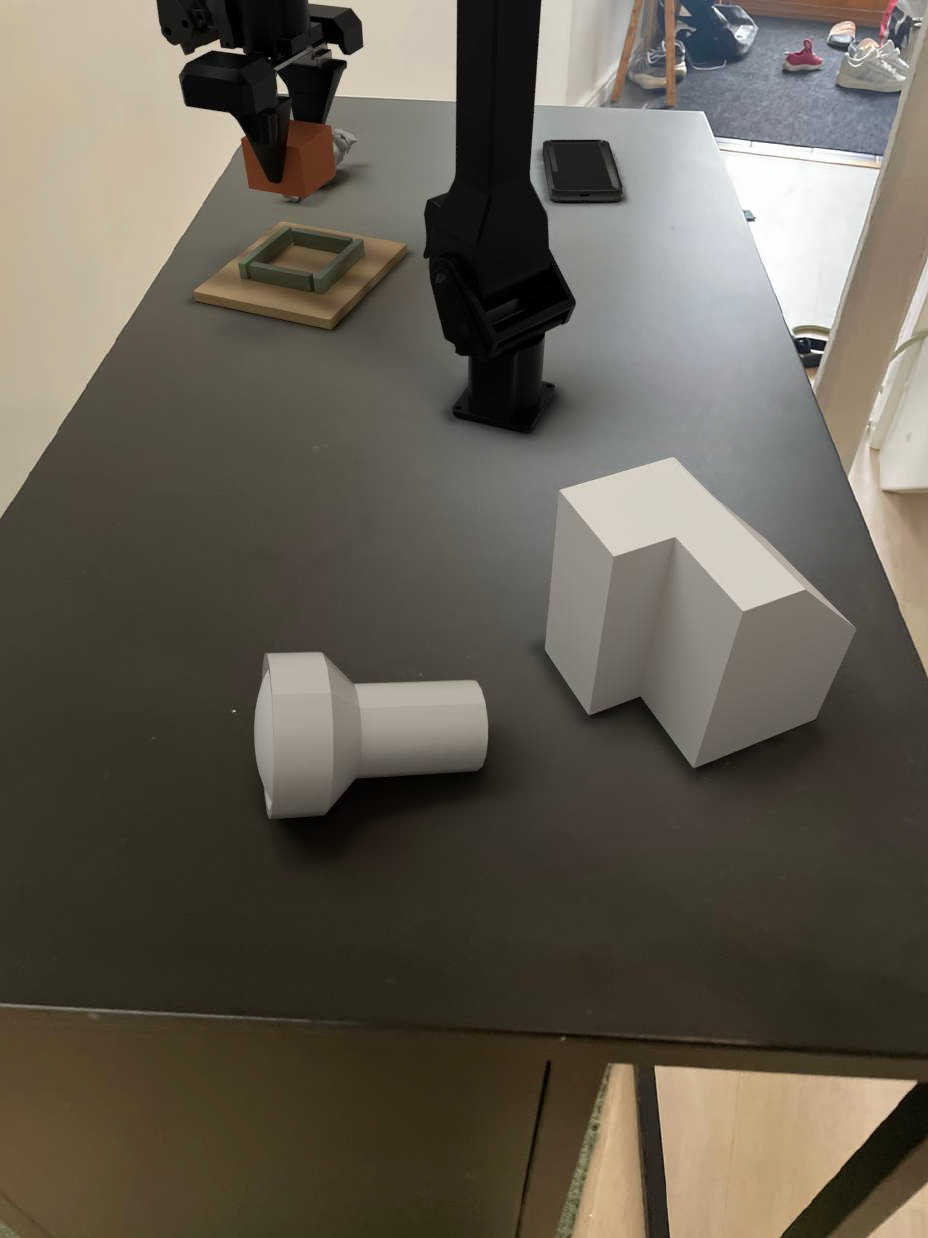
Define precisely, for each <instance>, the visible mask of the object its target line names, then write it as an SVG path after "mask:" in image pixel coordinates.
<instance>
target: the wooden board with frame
mask: <svg viewBox="0 0 928 1238" xmlns="http://www.w3.org/2000/svg"><path fill="white" fill-rule="evenodd" d="M407 254H408V245H407V243H406V242H405V243H404V242H398V241H394V240H389V239H383V238H378V237H372V236H365V235H361V234H356V233H355V234H354V233H349V232H343V231H339V230H332V229H327V228H321V227H316V226H311V225H305V224H299V223H295V222H288V221H283V220H281V221H280V222H279V223H278V224H276V225H275V226H274V227H273V228H271V229H270V230H269V231H267V232H266V233H265V234H264V235H263V236H261V237H260V238H258V239H257V240H256V241H255V242H253V243H252V244H251V245H250V246H249V247H247V248H246V249H244V251H242V252H241V253H240V254H238V255H237V256H236V257H234V258H233V259H232V260H231V261H229V262H228V263H227V264H226V265H224V266H223V267H222V268H220V269H219V270H218V271H217V272H215V273H214V274H213V275H212V276H210V277H209V278H208V279H207V280H205V281H204V282H202V284H200V285H199V286H198V287H197V288H195V289H194V290H193V291H192V292H193V296H194V300H195V302H198V303H203V304H207V305H212V306H217V307H222V308H226V309H230V310H236V311H241V312H246V313H249V314H255V315H259V316H264V317H269V318H274V319H279V320H281V321H282V320H283V321H288V322H292V323H297V324H301V325H306V326H311V327H316V328H320V329H325V330H329V331H332V330H333V329H334V328H335V327H336V326H337V325H338V324H339V323H340V321H342V320H343V319H344V318H345V317H346V316H347V315H348V314H349V312H351V311H352V310H353V309H354V307H356V306H357V304H359V303H360V301H362V300H363V299H364V298H365V296H366V295H367V294H368V293H369V292H370V291H371V290H372V289H373V288H374V287H375V286H376V285H378V283H379V282H380V281H381V280H382V279H384V277H385V276H386V275H388V273H389V272H390V271H391V270H392V269H394V268H395V266H396V265H397V264H398V263H399V262H400V261H401V260H402V259H403V258H404V257H405V256H406V255H407Z"/></svg>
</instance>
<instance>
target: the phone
mask: <svg viewBox="0 0 928 1238" xmlns="http://www.w3.org/2000/svg"><path fill="white" fill-rule="evenodd" d="M541 153H542V160H543V165H544V172H545V178H546V184H547V191H548V197H549V199H550V200H551V201H554V202H560V203H561V202H562V203H563V202H564V203H565V202H566V203H567V202H569V203H570V202H571V203H572V202H573V203H574V202H578V203H579V202H588V203H589V202H617V201H620V200H621V199H622V195H623V183H622V181H621V177H620V174H619V171H618V167H617V164H616V160H615V158H614V154H613V151H612V146H611V144H610V142H609V141H608V140H605V139H547V140H544V141H543V142H542V151H541Z"/></svg>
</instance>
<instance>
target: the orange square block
mask: <svg viewBox="0 0 928 1238" xmlns="http://www.w3.org/2000/svg"><path fill="white" fill-rule="evenodd" d="M240 143H241V149H242V156H243V161H244V167H245V174H246V179H247V180H246V181H247V185H248V189H250V190H256V191H261V192H267V193H272V194H278V195H282V194H283V195H289V196H294V197H299V198H300V199H307V198H308V197H309V196H311V195H312V194H313V193H315V192H316V191H317V190H318V189H320V188H321V187H322V185H323V184H325V183H326V182H327V181H328V180H330V179H331V178H332V177H333V176H334V177H335V176H336V175H337V170H336V171H335V160H334V150H333V140H332V125H330V124H325V125H324V124H317V123H311V122H304V121H297V120H294V119H292V118H290V122H289V130H288V139H287V148H286V157H285V166H284V171H283V177H282V181H281V182H280V183H279V184H277V183H271V182H269V181H268V179H267V177H266V175H265V173H264V171H263V169H262V167H261V165H260V163H259V161H258V159H257V157H256V155H255V153H254V151H253V149H252V147H251V145H250V143H249V141H248V139H247V137H246V135H244V136H242V137H241V138H240ZM334 177H333V178H334ZM323 186H324V185H323ZM283 195H282V196H283Z"/></svg>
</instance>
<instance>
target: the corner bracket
mask: <svg viewBox="0 0 928 1238" xmlns="http://www.w3.org/2000/svg"><path fill="white" fill-rule="evenodd" d="M556 510H557V511H556V522H555V531H554V532H555V533H554V543H553V555H552V566H551V577H550V578H551V579H550V586H549V599H548V610H547V621H546V631H545V642H544V651H545V653H546V654H547V656H548V657H549V658H550V660H551V662H552V663H553V664H554V666H555V667H556V669H557V671H558V672H559V674H560V675H561V676H562V678H563V680H564V681H565V683H566V684H567V685H568V687H569V688H570V690H571V691H572V693H573V694H574V696H575V697H576V699H577V700H578V702H579V703H580V704H581V706H582V707H583V709H584V710H585V712H586V713H587V716H591V715H594V714H597V713H600V712H602V711H605V710H607V709H610V708H613V707H615V706H618V705H620V704H624V703H625V702H629V701H632V700H634V699H637V698H639V697H640V698H641V700H643V702H644V703H645V705H646V706H647V707H648V709H649V710H650V712H651V713H652V714H653V716H654V717H655V718H656V720H657V722H659V724H660V725H661V726H662V728H663V729H664V730H665V732H666V733H667V734H668V736H669V737H670V738H671V740H672V741H673V743H674V744H675V745H676V747H677V748H678V749H679V751H680V752H681V753H682V755H683V756H684V758H685V759H686V760H687V762H688V763H689V765H690V766H691V767H692V769H696V768H698V767H700V766H701V767H702V766H704V765H706V764H708V763H710V762H713V761H716V760H718V759H721V758H723V757H726V756H728V755H731V754H733V753H736V752H738V751H740V750H743V749H745V748H748V747H751V746H753V745H756V744H757V743H760V742H763V741H765V740H768V739H770V738H773V737H775V736H778V735H780V734H783V733H785V732H788V731H790V730H792V729H795V728H797V727H800V726H802V725H805V724H807V723H810V722H812V721H814V720H816V719H817V717H818V715H819V712H820V710H821V708H822V706H823V704H824V702H825V700H826V697H827V696H828V693H829V691H830V689H831V686H832V684H833V682H834V680H835V677H836V675H837V674H838V672H839V668H840V667H841V664H842V662H843V660H844V658H845V656H846V653H847V652H848V650H849V647H850V645H851V643H852V640H853V638H854V636H855V634H856V632H857V628H856V627H855V626H854V625H853V624H852V623H851V622H850V621H849V620H848V619H847V618H846V617H845V616H844V615H843V614H842V613H841V612H840V611H839V610H838V609H837V608H836V607H835V606H834V605H833V604H832V603H831V601H829V600H828V599H827V598H826V597H825V595H823V594H822V593H821V592H820V591H819V590H818V589H817V588H816V587H815V586H814V585H813V584H812V583H811V582H810V581H809V580H808V579H807V578H806V577H805V576H804V575H803V574H802V573H801V572H799V570H798V569H796V567H794V565H793V564H791V562H790V561H789V560H787V558H786V557H785V556H784V555H783V554H782V553H781V552H780V551H779V550H778V549H777V548H775V546H773V544H772V543H770V541H769V540H768V539H767V538H765V536H763V535H762V534H760V533H759V532H758V531H757V530H755V529H754V528H753V527H752V526H751V525H749V524H748V523H747V522H746V521H744V520H743V519H742V518H741V517H740V516H739V515H737V514H736V513H734V512H733V511H732V510H731V509H729V508H728V507H727V506H726V505H725V504H724V503H723V502H721V501H720V500H718V499H717V498H716V497H715V496H714V495H713V494H712V493H710V491H708V490H707V489H706V488H705V487H704V486H703V485H702V484H701V483H700V481H698V480H697V478H695V476H693V475H692V473H690V472H689V471H688V470H687V469H686V468H685V467H684V465H683V464H681V463H680V461H678V460H677V459H676V457H674V456H671V457H668V458H664V459H661V460H658V461H653V462H650V463H647V464H644V465H641V466H637V467H633V468H630V469H626V470H624V471H620V472H616V473H612V474H610V475H606V476H602V477H598V478H596V479H593V480H592V479H591V480H589V481H585V482H581V483H579V484H575V485H572V486H571V485H570V486H568V487H564V488H561V489H559V490H558V502H557V509H556Z"/></svg>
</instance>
